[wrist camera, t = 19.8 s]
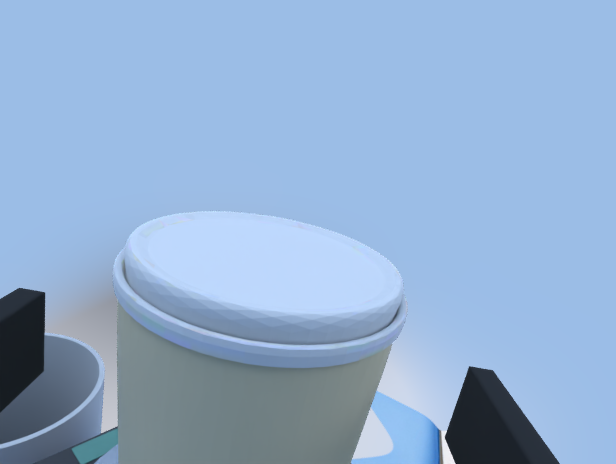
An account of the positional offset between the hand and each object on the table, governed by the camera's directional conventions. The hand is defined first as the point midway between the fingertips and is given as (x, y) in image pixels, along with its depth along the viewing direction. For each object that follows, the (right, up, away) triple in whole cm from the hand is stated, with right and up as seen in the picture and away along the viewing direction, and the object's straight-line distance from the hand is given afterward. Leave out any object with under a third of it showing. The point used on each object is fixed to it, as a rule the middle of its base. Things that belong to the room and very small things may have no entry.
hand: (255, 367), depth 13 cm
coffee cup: (-2, -8, +4) cm, 9 cm away
